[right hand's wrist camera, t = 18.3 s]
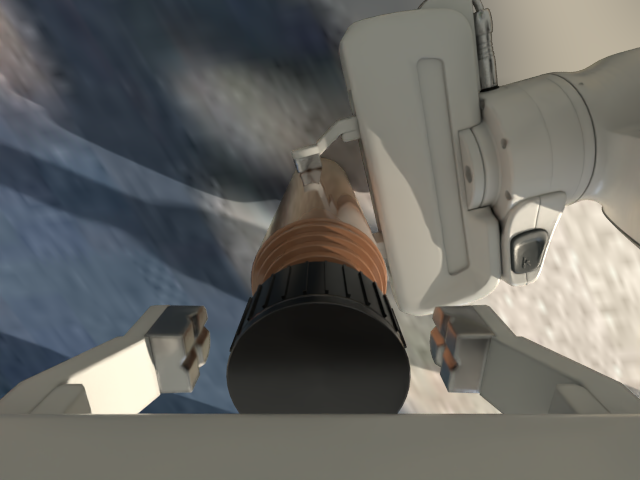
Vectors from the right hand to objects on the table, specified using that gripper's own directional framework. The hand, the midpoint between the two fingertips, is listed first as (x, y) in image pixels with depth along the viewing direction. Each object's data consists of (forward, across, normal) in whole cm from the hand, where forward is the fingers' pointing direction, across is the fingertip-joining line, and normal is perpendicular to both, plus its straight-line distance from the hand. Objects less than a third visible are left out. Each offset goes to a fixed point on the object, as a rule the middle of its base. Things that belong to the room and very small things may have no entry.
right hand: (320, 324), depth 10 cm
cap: (-2, 0, 0) cm, 2 cm away
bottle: (+20, 0, 0) cm, 21 cm away
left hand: (+15, -1, 0) cm, 15 cm away
